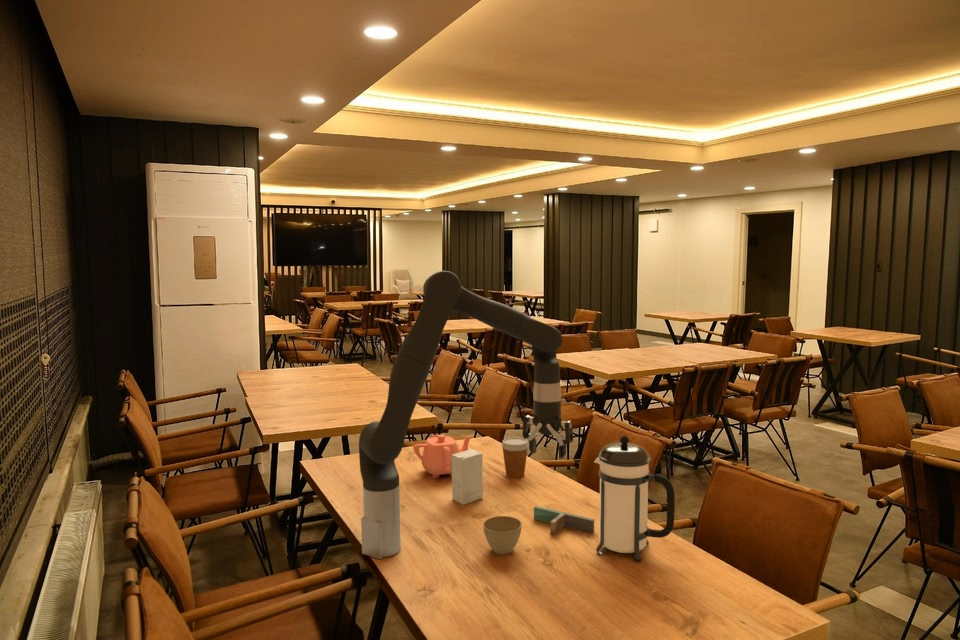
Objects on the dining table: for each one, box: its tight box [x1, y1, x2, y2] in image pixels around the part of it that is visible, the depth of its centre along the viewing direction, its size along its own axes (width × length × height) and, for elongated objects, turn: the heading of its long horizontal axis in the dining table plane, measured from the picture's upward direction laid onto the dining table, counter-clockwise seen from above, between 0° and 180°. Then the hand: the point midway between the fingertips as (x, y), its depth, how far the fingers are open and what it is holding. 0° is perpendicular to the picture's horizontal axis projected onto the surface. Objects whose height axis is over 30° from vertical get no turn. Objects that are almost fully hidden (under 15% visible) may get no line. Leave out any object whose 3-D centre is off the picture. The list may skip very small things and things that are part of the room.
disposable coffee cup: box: [501, 437, 529, 479], centre depth 219 cm, size 10×10×12 cm
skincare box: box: [451, 448, 484, 505], centre depth 198 cm, size 8×6×15 cm
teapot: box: [412, 434, 475, 479], centre depth 222 cm, size 16×17×14 cm
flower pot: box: [482, 515, 523, 555], centre depth 164 cm, size 10×10×7 cm
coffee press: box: [593, 435, 676, 562], centre depth 162 cm, size 17×16×30 cm
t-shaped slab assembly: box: [533, 505, 595, 536], centre depth 176 cm, size 8×18×4 cm, turn 58°
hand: (547, 455), depth 176 cm, fingers open, 8 cm apart
